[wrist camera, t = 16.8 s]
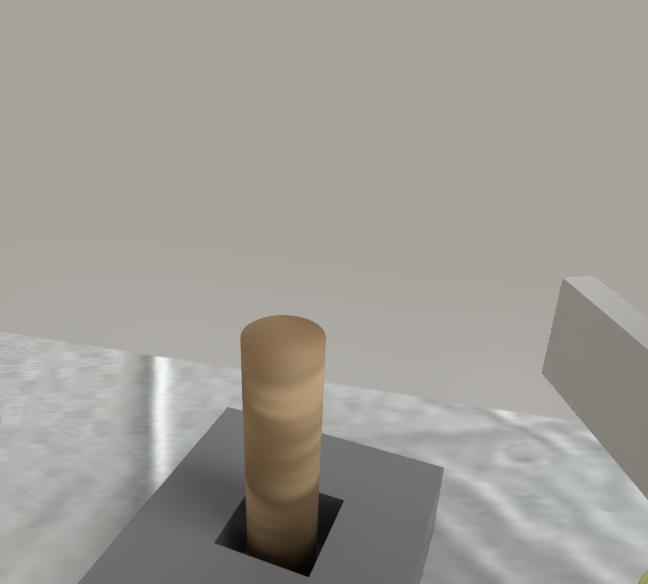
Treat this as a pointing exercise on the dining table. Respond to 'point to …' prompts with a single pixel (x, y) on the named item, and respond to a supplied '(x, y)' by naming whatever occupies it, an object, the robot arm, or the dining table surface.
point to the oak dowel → (282, 438)
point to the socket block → (231, 527)
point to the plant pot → (644, 579)
